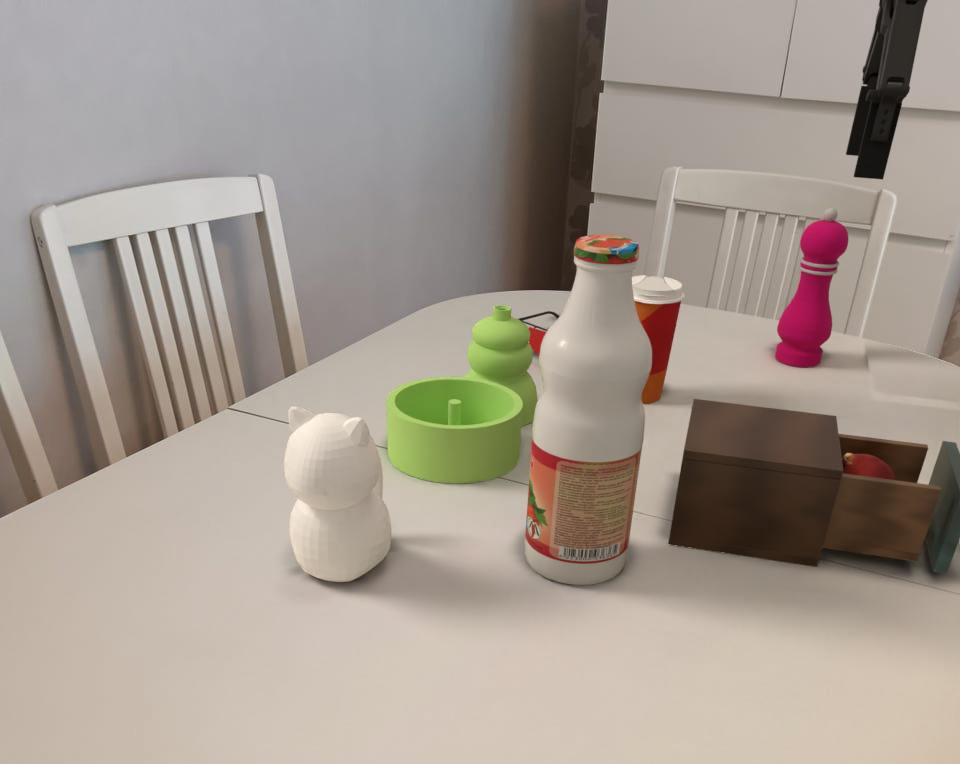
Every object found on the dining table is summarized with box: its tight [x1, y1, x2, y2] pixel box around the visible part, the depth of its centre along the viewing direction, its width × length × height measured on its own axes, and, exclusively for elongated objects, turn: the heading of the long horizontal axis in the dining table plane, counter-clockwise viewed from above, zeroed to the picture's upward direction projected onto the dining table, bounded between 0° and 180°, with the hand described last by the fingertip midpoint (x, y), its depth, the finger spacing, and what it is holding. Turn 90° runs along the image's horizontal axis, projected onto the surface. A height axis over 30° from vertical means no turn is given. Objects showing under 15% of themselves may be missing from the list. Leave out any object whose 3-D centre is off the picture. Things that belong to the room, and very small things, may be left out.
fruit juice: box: [524, 234, 652, 586], centre depth 81 cm, size 9×9×28 cm
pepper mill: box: [774, 207, 849, 368], centre depth 130 cm, size 7×7×20 cm
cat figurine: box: [283, 405, 392, 583], centre depth 84 cm, size 9×12×15 cm
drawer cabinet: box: [667, 398, 843, 567], centre depth 93 cm, size 14×13×10 cm
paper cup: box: [632, 274, 686, 405], centre depth 119 cm, size 8×8×14 cm
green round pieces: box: [385, 304, 538, 484], centre depth 108 cm, size 25×15×13 cm, turn 157°
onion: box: [842, 453, 895, 480], centre depth 90 cm, size 6×6×8 cm
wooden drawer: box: [822, 433, 960, 574], centre depth 91 cm, size 18×12×8 cm, turn 76°
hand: (863, 166), depth 100 cm, fingers open, 13 cm apart
